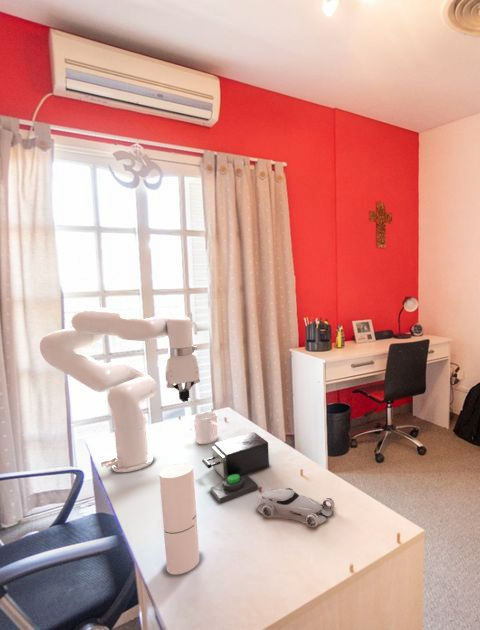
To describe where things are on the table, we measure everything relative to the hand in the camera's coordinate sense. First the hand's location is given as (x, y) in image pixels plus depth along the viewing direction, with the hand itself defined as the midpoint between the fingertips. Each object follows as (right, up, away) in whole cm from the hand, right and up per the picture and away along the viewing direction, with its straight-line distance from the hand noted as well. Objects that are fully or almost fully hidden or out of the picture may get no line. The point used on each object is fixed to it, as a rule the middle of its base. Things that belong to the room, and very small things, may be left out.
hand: (184, 400), depth 152 cm
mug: (-3, -22, +24) cm, 33 cm away
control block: (+24, -27, -13) cm, 39 cm away
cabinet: (+20, -25, +2) cm, 32 cm away
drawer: (+18, -25, -1) cm, 30 cm away
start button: (+24, -24, -14) cm, 37 cm away
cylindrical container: (+26, -32, -47) cm, 62 cm away
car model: (+47, -29, -24) cm, 61 cm away
